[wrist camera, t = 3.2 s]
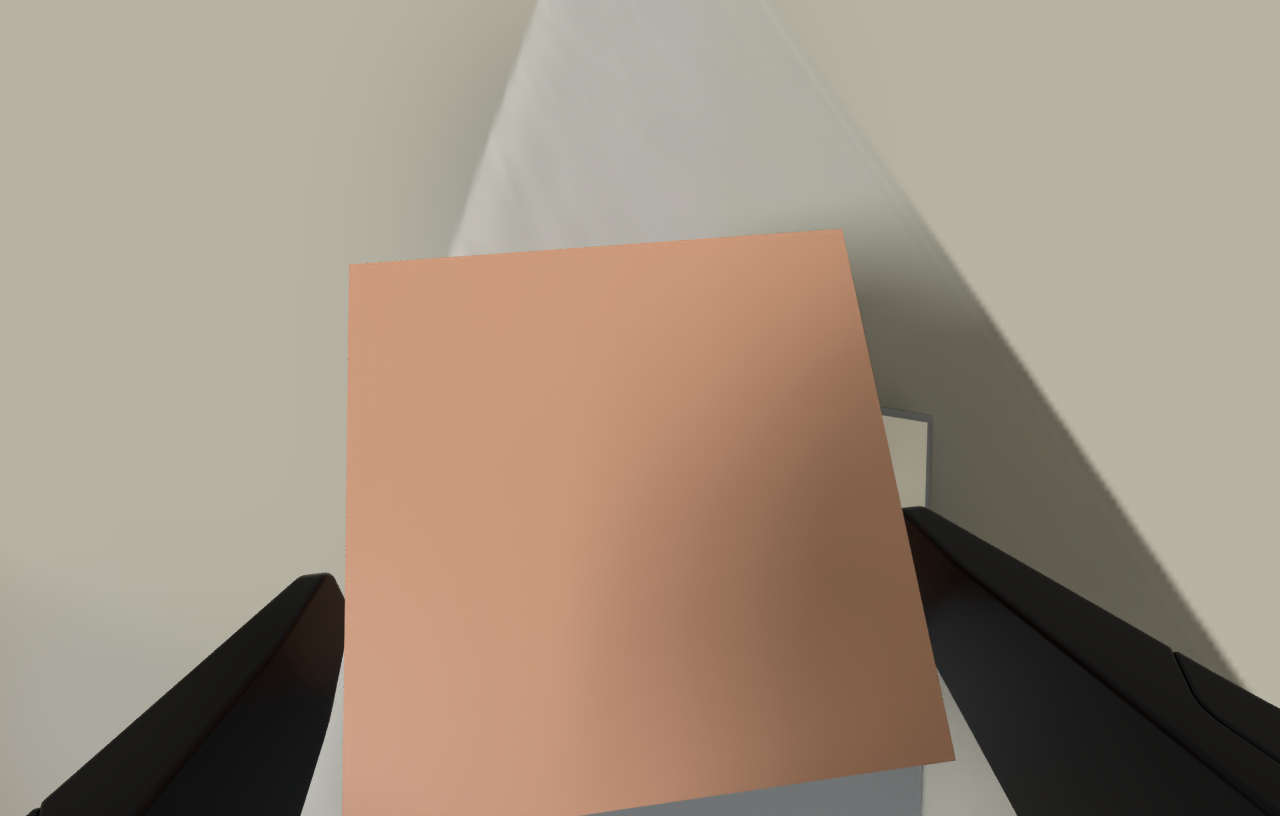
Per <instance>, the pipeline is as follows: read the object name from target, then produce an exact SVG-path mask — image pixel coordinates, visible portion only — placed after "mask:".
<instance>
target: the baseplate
mask: <svg viewBox="0 0 1280 816" xmlns="http://www.w3.org/2000/svg"><path fill="white" fill-rule="evenodd" d="M880 409H881V413H882V418H883V423H884V427H885V432H886V437H887V442H888V446H889V451H890V456H891V460H892V465H893V470H894V474H895V479H896V484H897V488H898V493H899V498H900V502H901V507H902V508H904V507H913V506H923V507H926V508H928V509H930V475H931V438H932V415H927V414H921V413H915V412H909V411H903V410H896V409H890V408H884V407H880ZM922 766H923V765H920V766H914V767H907V768H900V769H893V770H887V771H880V772H873V773H866V774H859V775H853V776H846V777H839V778H832V779H825V780H819V781H812V782H805V783H798V784H791V785H785V786H778V787H771V788H764V789H757V790H751V791H744V792H737V793H730V794H723V795H717V796H710V797H703V798H696V799H689V800H683V801H676V802H669V803H662V804H655V805H649V806H642V807H635V808H628V809H621V810H615V811H608V812H601V813H594V814H587V815H581V816H921V803H922Z"/></svg>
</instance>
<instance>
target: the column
mask: <svg viewBox="0 0 1280 816" xmlns="http://www.w3.org/2000/svg"><path fill="white" fill-rule="evenodd" d="M348 327H349V328H348V404H347V483H346V484H347V485H346V487H347V489H346V490H347V491H346V562H345V563H346V565H345V641H344V720H343V799H342V816H581V815H587V814H594V813H601V812H608V811H615V810H621V809H628V808H635V807H642V806H649V805H655V804H662V803H669V802H676V801H683V800H689V799H696V798H703V797H710V796H717V795H723V794H730V793H737V792H744V791H751V790H757V789H764V788H771V787H778V786H785V785H791V784H798V783H805V782H812V781H819V780H825V779H832V778H839V777H846V776H853V775H859V774H866V773H873V772H880V771H887V770H893V769H900V768H907V767H914V766H920V765H927V764H934V763H941V762H948V761H954V760H956V759H955V754H954V750H953V745H952V740H951V736H950V731H949V726H948V722H947V717H946V712H945V708H944V703H943V698H942V694H941V689H940V684H939V680H938V675H937V670H936V666H935V661H934V656H933V652H932V647H931V642H930V638H929V633H928V628H927V624H926V619H925V614H924V610H923V605H922V600H921V596H920V591H919V586H918V582H917V577H916V572H915V568H914V563H913V558H912V554H911V549H910V544H909V540H908V535H907V530H906V526H905V521H904V516H903V512H902V507H901V502H900V498H899V493H898V488H897V484H896V479H895V474H894V470H893V465H892V460H891V456H890V451H889V446H888V442H887V437H886V432H885V427H884V423H883V418H882V413H881V409H880V404H879V399H878V395H877V390H876V385H875V381H874V376H873V371H872V367H871V362H870V357H869V353H868V348H867V343H866V339H865V334H864V329H863V325H862V320H861V315H860V311H859V306H858V301H857V297H856V292H855V287H854V283H853V278H852V273H851V269H850V264H849V259H848V255H847V250H846V245H845V241H844V236H843V231H842V229H833V230H819V231H805V232H791V233H777V234H764V235H750V236H736V237H722V238H709V239H695V240H681V241H667V242H653V243H640V244H626V245H612V246H598V247H584V248H571V249H557V250H543V251H529V252H516V253H502V254H488V255H474V256H460V257H447V258H434V259H421V260H406V261H392V262H379V263H365V264H352V265H349V325H348Z"/></svg>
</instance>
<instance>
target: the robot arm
mask: <svg viewBox="0 0 1280 816" xmlns="http://www.w3.org/2000/svg"><path fill="white" fill-rule="evenodd" d="M902 512H903V516H904V521H905V526H906V530H907V535H908V540H909V544H910V549H911V554H912V558H913V563H914V568H915V572H916V577H917V582H918V586H919V591H920V596H921V600H922V605H923V610H924V614H925V619H926V624H927V628H928V633H929V638H930V642H931V647H932V652H933V656H934V661H935V665H936V667H937V669H938V671H939V673H940V674H941V676H942V678H943V680H944V682H945V684H946V685H947V687H948V689H949V691H950V693H951V695H952V696H953V698H954V700H955V702H956V704H957V706H958V707H959V709H960V711H961V713H962V715H963V717H964V719H965V720H966V722H967V724H968V726H969V728H970V730H971V731H972V733H973V735H974V737H975V739H976V741H977V742H978V744H979V746H980V748H981V750H982V752H983V753H984V755H985V757H986V759H987V761H988V763H989V765H990V766H991V768H992V770H993V772H994V774H995V776H996V777H997V779H998V781H999V783H1000V785H1001V787H1002V788H1003V790H1004V792H1005V794H1006V796H1007V798H1008V799H1009V801H1010V803H1011V805H1012V807H1013V809H1014V811H1015V812H1016V814H1017V816H1280V708H1278V707H1276V706H1274V705H1272V704H1270V703H1268V702H1266V701H1264V700H1263V699H1261V698H1259V697H1257V696H1255V695H1254V694H1252V693H1250V692H1248V691H1246V690H1245V689H1243V688H1241V687H1239V686H1237V685H1236V684H1234V683H1232V682H1230V681H1228V680H1227V679H1225V678H1223V677H1221V676H1219V675H1218V674H1216V673H1214V672H1212V671H1210V670H1209V669H1207V668H1205V667H1204V666H1202V665H1200V664H1198V663H1197V662H1195V661H1193V660H1191V659H1190V658H1188V657H1186V656H1184V655H1183V654H1181V653H1179V652H1173V651H1172V649H1171V648H1170V647H1168V646H1167V645H1165V644H1163V643H1161V642H1160V641H1158V640H1156V639H1154V638H1153V637H1151V636H1149V635H1147V634H1146V633H1144V632H1142V631H1140V630H1139V629H1137V628H1135V627H1134V626H1132V625H1130V624H1128V623H1127V622H1125V621H1123V620H1121V619H1120V618H1118V617H1116V616H1114V615H1113V614H1111V613H1109V612H1107V611H1106V610H1104V609H1102V608H1100V607H1099V606H1097V605H1095V604H1093V603H1092V602H1090V601H1088V600H1086V599H1085V598H1083V597H1081V596H1079V595H1078V594H1076V593H1074V592H1073V591H1071V590H1069V589H1067V588H1066V587H1064V586H1062V585H1060V584H1059V583H1057V582H1055V581H1053V580H1052V579H1050V578H1048V577H1046V576H1045V575H1043V574H1041V573H1039V572H1038V571H1036V570H1034V569H1032V568H1031V567H1029V566H1027V565H1025V564H1024V563H1022V562H1020V561H1018V560H1017V559H1015V558H1013V557H1012V556H1010V555H1008V554H1006V553H1005V552H1003V551H1001V550H999V549H998V548H996V547H994V546H992V545H991V544H989V543H987V542H985V541H984V540H982V539H980V538H978V537H977V536H975V535H973V534H971V533H970V532H968V531H966V530H964V529H963V528H961V527H959V526H957V525H956V524H954V523H952V522H950V521H949V520H947V519H945V518H944V517H942V516H940V515H938V514H937V513H935V512H933V511H931V510H930V509H928V508H926V507H923V506H913V507H904V508H902ZM344 641H345V598H344V596H343V594H342V592H341V590H340V588H339V586H338V584H337V582H336V580H335V578H334V576H333V575H331V574H330V573H318V574H309V575H303V576H301V577H299V578H297V579H296V580H295V581H294V582H292V583H291V584H290V585H289V586H288V587H287V588H286V589H285V590H283V591H282V592H281V593H280V594H279V595H278V596H277V597H275V598H274V599H273V600H272V601H271V602H270V603H269V604H267V605H266V606H265V607H264V608H263V609H262V610H261V611H259V612H258V613H257V614H256V615H255V616H254V617H253V618H251V619H250V620H249V621H248V622H247V623H246V624H245V625H243V626H242V627H241V628H240V629H239V630H238V631H237V632H235V633H234V634H233V635H232V636H231V637H230V638H229V639H228V640H226V641H225V642H224V643H223V644H222V645H221V646H220V647H218V648H217V649H216V650H215V651H214V652H213V653H211V655H209V656H208V657H207V658H206V659H205V660H204V661H202V662H201V663H200V664H199V665H198V666H197V667H196V668H194V669H193V670H192V671H191V672H190V673H189V674H188V675H186V676H185V677H184V678H183V679H182V680H181V681H180V682H178V683H177V684H176V685H175V686H174V687H173V688H172V689H170V690H169V691H168V692H167V693H166V694H165V695H164V696H162V697H161V698H160V699H159V700H158V701H157V702H156V703H154V704H153V705H152V706H151V707H150V708H149V709H148V710H146V711H145V712H144V713H143V714H142V715H141V716H140V717H139V718H137V719H136V720H135V721H134V722H133V723H132V724H131V725H129V726H128V727H127V728H126V729H125V730H124V731H123V732H121V733H120V734H119V735H118V736H117V737H116V738H115V739H113V740H112V741H111V742H110V743H109V744H108V745H107V746H105V747H104V748H103V749H102V750H101V751H100V752H99V753H97V754H96V755H95V756H94V757H93V758H92V759H91V760H89V761H88V762H87V763H86V764H85V765H84V766H83V767H81V769H79V770H78V771H77V772H76V773H75V774H74V775H72V776H71V777H70V778H69V779H68V780H67V781H65V782H64V783H63V784H62V785H61V786H60V787H59V788H58V789H57V790H56V791H54V792H53V793H52V794H51V795H49V796H48V797H47V798H46V799H45V800H44V801H43V802H42V804H41V807H40V808H36V809H34V810H32V811H31V812H30V813H29V814H28V815H26V816H300V815H301V812H302V809H303V806H304V803H305V799H306V796H307V793H308V790H309V787H310V783H311V780H312V777H313V774H314V770H315V767H316V764H317V761H318V758H319V754H320V751H321V748H322V745H323V742H324V738H325V735H326V731H327V728H328V724H329V721H330V716H331V712H332V707H333V703H334V698H335V693H336V687H337V682H338V677H339V672H340V667H341V662H342V657H343V652H344Z"/></svg>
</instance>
